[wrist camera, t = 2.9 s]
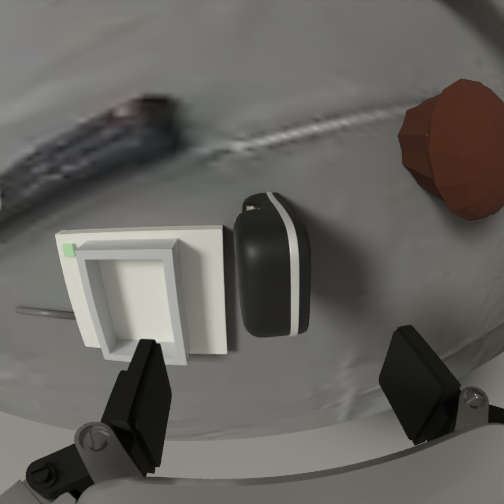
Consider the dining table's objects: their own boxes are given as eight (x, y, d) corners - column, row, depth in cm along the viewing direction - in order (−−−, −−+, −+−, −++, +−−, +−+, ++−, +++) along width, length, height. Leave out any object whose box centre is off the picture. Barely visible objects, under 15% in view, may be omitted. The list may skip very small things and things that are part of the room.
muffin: (462, 208, 25) (527, 239, 16) (381, 195, 25) (447, 228, 15) (472, 103, 21) (541, 105, 12) (390, 71, 20) (460, 50, 11)
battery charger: (232, 191, 24) (230, 235, 13) (278, 188, 24) (313, 228, 13) (239, 269, 26) (242, 354, 16) (281, 265, 27) (309, 347, 16)
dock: (222, 225, 25) (220, 239, 21) (227, 346, 30) (226, 370, 26) (-3, 234, 23) (-23, 246, 20) (26, 331, 28) (12, 347, 25)
